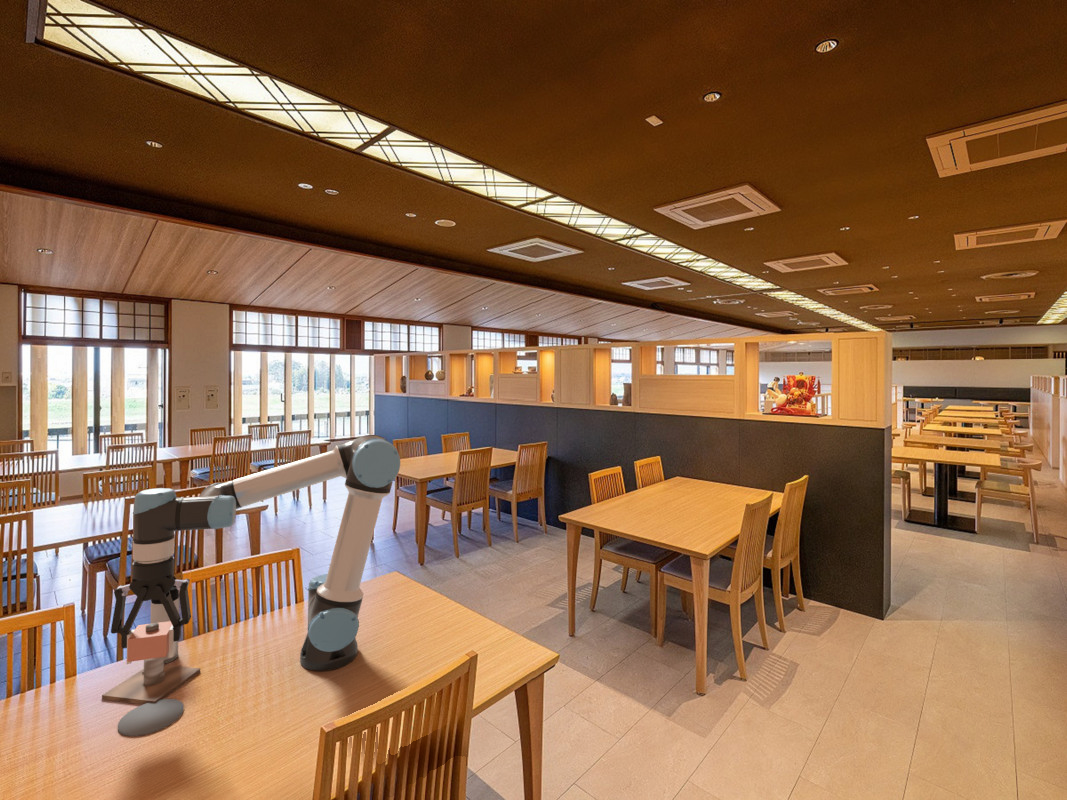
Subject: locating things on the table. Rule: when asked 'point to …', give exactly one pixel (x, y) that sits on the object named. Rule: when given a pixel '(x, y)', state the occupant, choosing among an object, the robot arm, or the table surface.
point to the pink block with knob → (149, 641)
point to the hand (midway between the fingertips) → (151, 657)
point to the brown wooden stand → (151, 682)
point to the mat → (150, 717)
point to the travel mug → (165, 616)
